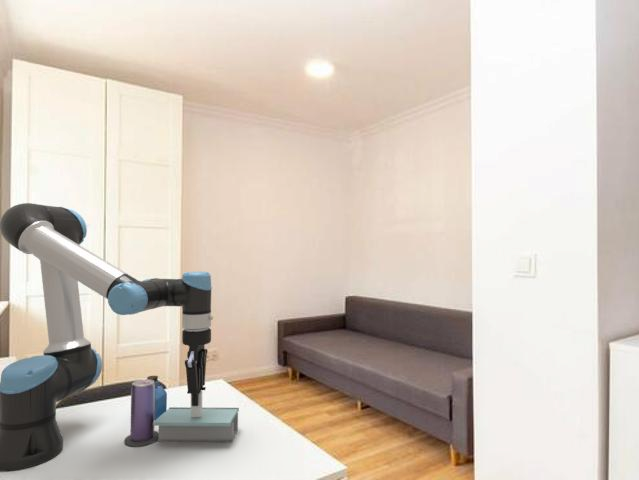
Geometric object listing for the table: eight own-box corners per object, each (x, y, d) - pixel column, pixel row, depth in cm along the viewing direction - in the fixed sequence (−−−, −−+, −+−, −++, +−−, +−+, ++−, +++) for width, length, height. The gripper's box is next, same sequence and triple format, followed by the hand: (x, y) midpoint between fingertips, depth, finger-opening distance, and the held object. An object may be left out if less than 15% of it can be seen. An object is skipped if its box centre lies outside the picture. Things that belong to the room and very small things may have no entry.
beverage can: (145, 443, 108) (146, 386, 108) (125, 441, 109) (126, 384, 109) (158, 433, 113) (159, 379, 114) (139, 431, 115) (140, 378, 115)
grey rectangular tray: (158, 441, 110) (158, 422, 110) (168, 430, 117) (168, 411, 117) (232, 442, 110) (232, 422, 110) (237, 430, 117) (238, 412, 117)
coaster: (117, 447, 107) (117, 445, 107) (133, 431, 116) (133, 430, 116) (152, 447, 107) (152, 445, 107) (165, 432, 116) (165, 430, 116)
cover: (152, 425, 106) (152, 421, 106) (169, 410, 118) (170, 406, 118) (229, 425, 106) (229, 421, 106) (238, 410, 118) (238, 407, 118)
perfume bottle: (166, 412, 130) (167, 374, 130) (155, 420, 124) (155, 380, 124) (148, 411, 131) (149, 373, 131) (136, 419, 125) (137, 379, 125)
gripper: (204, 333, 104) (203, 426, 103) (216, 324, 117) (216, 406, 116) (174, 333, 104) (174, 426, 103) (190, 324, 117) (190, 406, 116)
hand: (196, 416), depth 110 cm, fingers closed
